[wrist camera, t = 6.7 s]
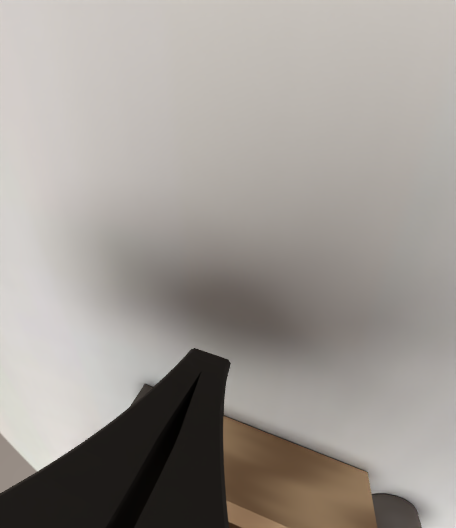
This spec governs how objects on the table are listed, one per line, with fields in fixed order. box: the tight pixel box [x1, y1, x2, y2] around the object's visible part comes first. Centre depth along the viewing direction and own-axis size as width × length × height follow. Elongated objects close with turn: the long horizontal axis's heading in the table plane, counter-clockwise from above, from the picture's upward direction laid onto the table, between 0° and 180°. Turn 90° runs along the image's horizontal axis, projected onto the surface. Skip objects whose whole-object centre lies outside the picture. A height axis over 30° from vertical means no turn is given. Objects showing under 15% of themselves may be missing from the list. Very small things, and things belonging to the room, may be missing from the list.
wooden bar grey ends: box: [130, 384, 377, 528], centre depth 13 cm, size 12×2×4 cm, turn 77°
